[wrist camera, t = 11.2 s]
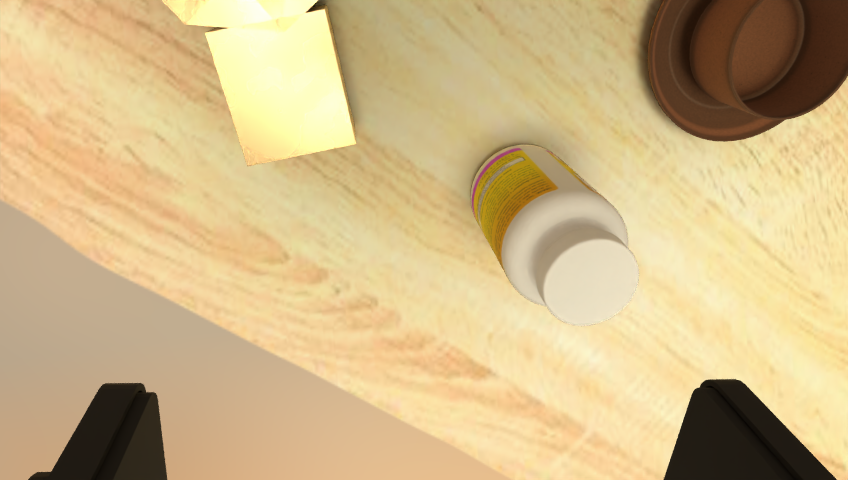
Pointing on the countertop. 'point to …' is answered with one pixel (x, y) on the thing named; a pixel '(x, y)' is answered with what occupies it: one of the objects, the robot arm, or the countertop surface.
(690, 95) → the cup and saucer
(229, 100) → the octagonal two-tone ring
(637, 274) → the supplement bottle
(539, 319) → the countertop surface
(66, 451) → the robot arm
